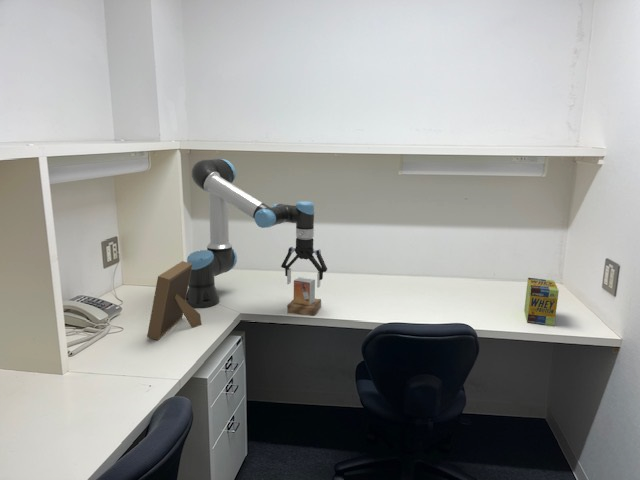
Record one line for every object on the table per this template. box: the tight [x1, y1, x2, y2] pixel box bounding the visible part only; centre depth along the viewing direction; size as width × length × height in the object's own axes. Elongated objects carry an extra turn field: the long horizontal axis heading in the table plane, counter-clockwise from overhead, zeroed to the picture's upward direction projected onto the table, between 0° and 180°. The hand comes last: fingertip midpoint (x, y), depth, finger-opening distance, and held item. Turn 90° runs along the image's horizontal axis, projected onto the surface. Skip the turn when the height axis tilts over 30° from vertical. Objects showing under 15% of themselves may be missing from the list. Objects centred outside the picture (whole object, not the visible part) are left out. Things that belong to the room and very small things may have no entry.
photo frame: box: [146, 260, 202, 341], centre depth 176 cm, size 15×22×25 cm
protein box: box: [523, 277, 559, 327], centre depth 192 cm, size 10×15×16 cm
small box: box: [293, 276, 316, 306], centre depth 198 cm, size 8×6×10 cm
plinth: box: [287, 298, 322, 317], centre depth 200 cm, size 12×12×4 cm
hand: (303, 285), depth 198 cm, fingers open, 13 cm apart
